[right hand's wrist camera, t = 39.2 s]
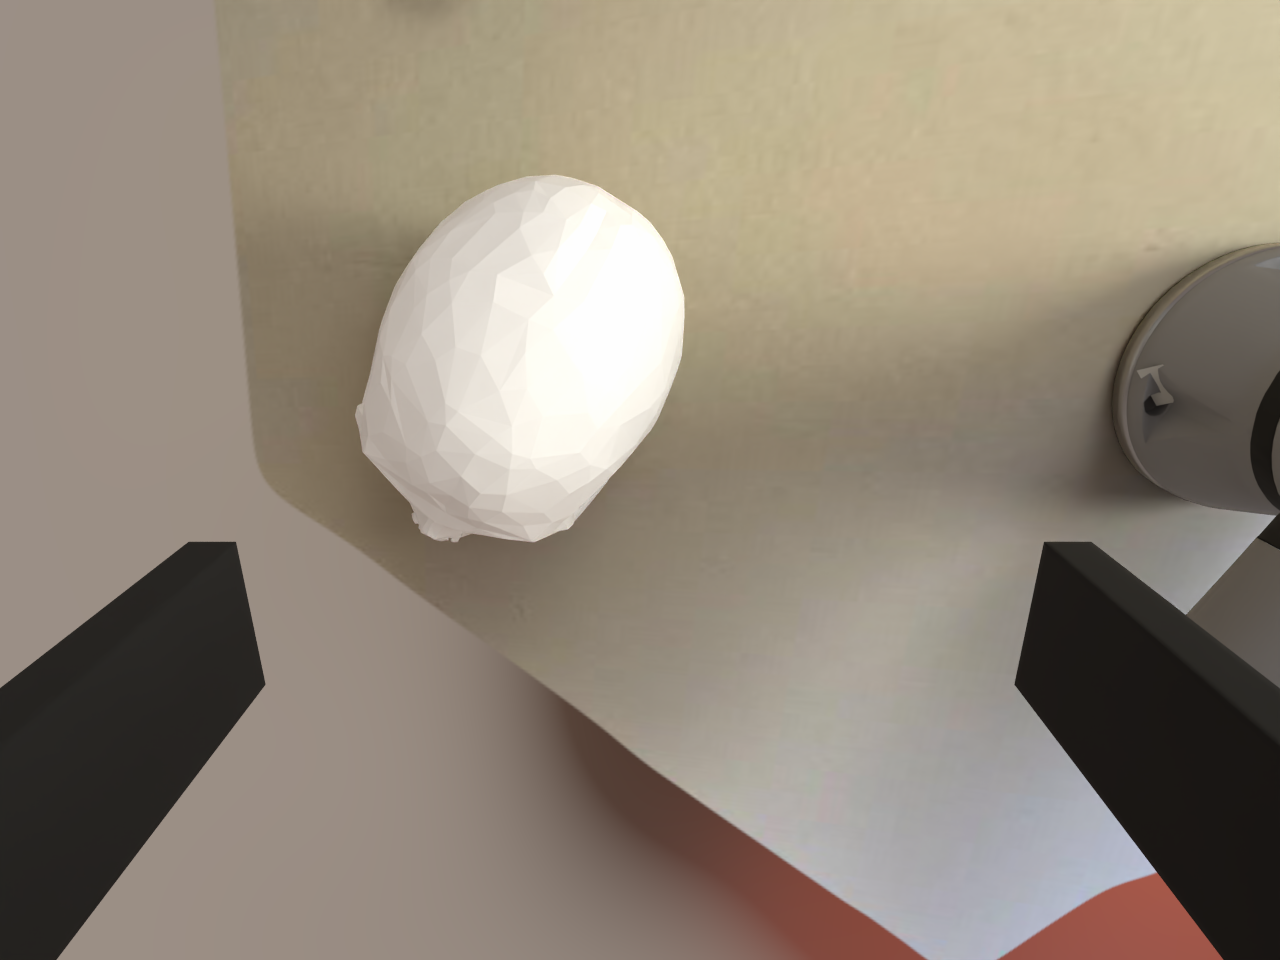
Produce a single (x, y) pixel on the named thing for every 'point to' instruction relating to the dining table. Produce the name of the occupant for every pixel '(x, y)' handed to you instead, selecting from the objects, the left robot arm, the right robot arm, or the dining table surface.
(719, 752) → the dining table surface
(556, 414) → the skull
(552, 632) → the dining table surface
